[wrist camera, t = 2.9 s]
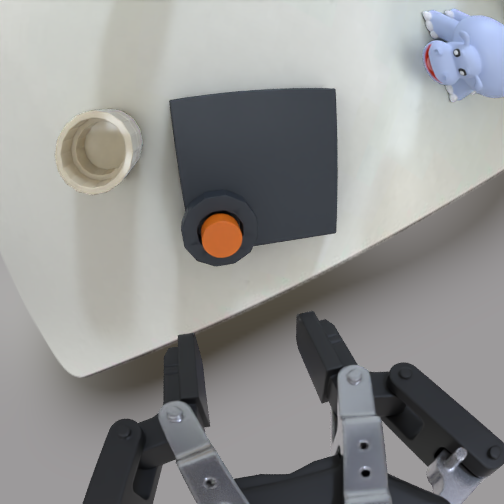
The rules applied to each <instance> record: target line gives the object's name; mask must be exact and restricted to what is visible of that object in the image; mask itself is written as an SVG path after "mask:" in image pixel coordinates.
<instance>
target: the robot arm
mask: <svg viewBox="0 0 504 504" xmlns="http://www.w3.org/2000/svg"><path fill="white" fill-rule="evenodd" d="M296 340H297V345H298V349H299V352H300V354H301V356H302V359H303V361H304V363H305V366H306V368H307V370H308V373H309V375H310V377H311V380H312V382H313V384H314V387H315V389H316V391H317V394H318V396H319V398H320V401H321V403H325V402H328V401H329V403H330V405H331V412H330V414H331V450H330V457H327V458H324V459H321V460H317V461H314V462H312V463H310V464H308V465H306V466H304V467H303V468H301V469H299V470H297V471H295V472H293V473H291V474H274V475H273V474H259V475H255V476H248V477H242V478H236V479H233V477H232V476H231V474H230V473H229V471H228V469H227V468H226V466H225V465H224V463H223V461H222V460H221V458H220V456H219V455H218V453H217V452H216V450H215V448H214V447H213V446H212V444H211V443H210V441H209V439H208V438H207V436H206V434H205V429H204V427H209V426H210V422H209V414H208V406H207V398H206V390H205V381H204V372H203V364H202V359H201V355H200V351H199V347H198V344H197V340H196V337H195V334H194V333H190V334H183V335H178V347H173V348H169V349H168V351H167V353H166V354H165V356H164V402H163V406H162V407H161V409H160V410H159V413H158V414H157V415H156V416H154V417H153V418H150V419H148V420H145V421H143V422H140V423H137V422H135V421H134V420H131V419H121V420H119V421H117V422H115V423H114V424H113V425H112V426H111V428H110V430H109V432H108V435H107V438H106V440H105V443H104V446H103V448H102V451H101V453H100V456H99V459H98V461H97V464H96V467H95V470H94V472H93V476H92V478H91V481H90V484H89V487H88V489H87V492H86V495H85V498H84V501H83V504H153V500H154V497H155V492H156V489H157V485H158V480H159V477H160V473H161V469H162V465H163V464H165V463H167V462H170V461H173V460H175V459H176V463H177V466H178V468H179V470H180V472H181V474H182V476H183V478H184V480H185V482H186V484H187V486H188V488H189V490H190V491H191V493H192V495H193V497H194V499H195V500H196V503H197V504H462V503H463V502H464V501H465V499H466V498H467V497H468V496H469V495H470V494H471V493H472V492H473V491H474V489H475V488H476V487H477V486H478V485H479V484H480V482H482V481H483V480H484V479H486V478H487V477H488V476H490V475H491V474H492V473H493V472H495V471H496V470H497V469H498V468H500V467H501V466H502V465H503V464H504V443H503V442H502V441H501V440H500V439H499V438H498V437H496V436H495V435H494V434H493V433H492V432H491V431H490V430H488V429H487V428H486V427H485V426H484V425H483V424H481V423H480V422H479V421H478V420H477V419H476V418H475V417H474V416H472V415H471V414H470V413H469V412H468V411H466V410H465V409H464V408H463V407H462V406H461V405H459V404H458V403H457V402H456V401H455V400H454V399H453V398H451V397H450V396H449V395H448V394H447V393H446V392H444V391H443V390H442V389H441V388H440V387H439V386H437V385H436V384H435V383H434V382H433V381H432V380H430V379H429V378H428V377H427V376H426V375H424V374H423V373H422V372H421V371H419V369H417V368H416V367H415V366H414V365H411V364H409V363H398V364H396V365H394V366H393V367H392V368H391V370H390V372H369V371H368V370H367V369H365V368H364V367H362V366H360V365H357V363H356V362H355V360H354V358H353V356H352V355H351V353H350V351H349V350H348V348H347V346H346V345H345V343H344V341H343V340H342V338H341V336H340V335H339V333H338V331H337V329H336V328H335V326H334V325H333V324H332V323H330V322H329V321H327V320H326V319H325V320H321V321H319V320H318V318H317V316H316V315H315V313H314V312H313V311H311V312H306V313H301V314H297V325H296ZM382 421H383V422H384V423H385V424H386V425H387V426H388V427H389V428H390V429H391V430H392V431H393V432H394V433H395V434H396V435H397V436H398V437H399V438H400V439H401V440H402V441H403V442H404V443H405V444H406V445H407V446H408V447H409V448H410V449H411V450H412V451H413V452H414V453H415V454H416V455H417V456H418V457H419V458H420V459H421V460H422V461H423V462H424V463H425V464H426V465H427V466H428V469H427V478H428V481H429V482H430V483H431V485H432V487H433V493H431V492H429V491H426V490H424V489H422V488H419V487H417V486H415V485H412V484H410V483H408V482H405V481H403V480H400V479H399V478H396V477H394V476H392V475H390V474H388V473H387V464H386V454H385V444H384V436H383V427H382Z"/></svg>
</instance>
